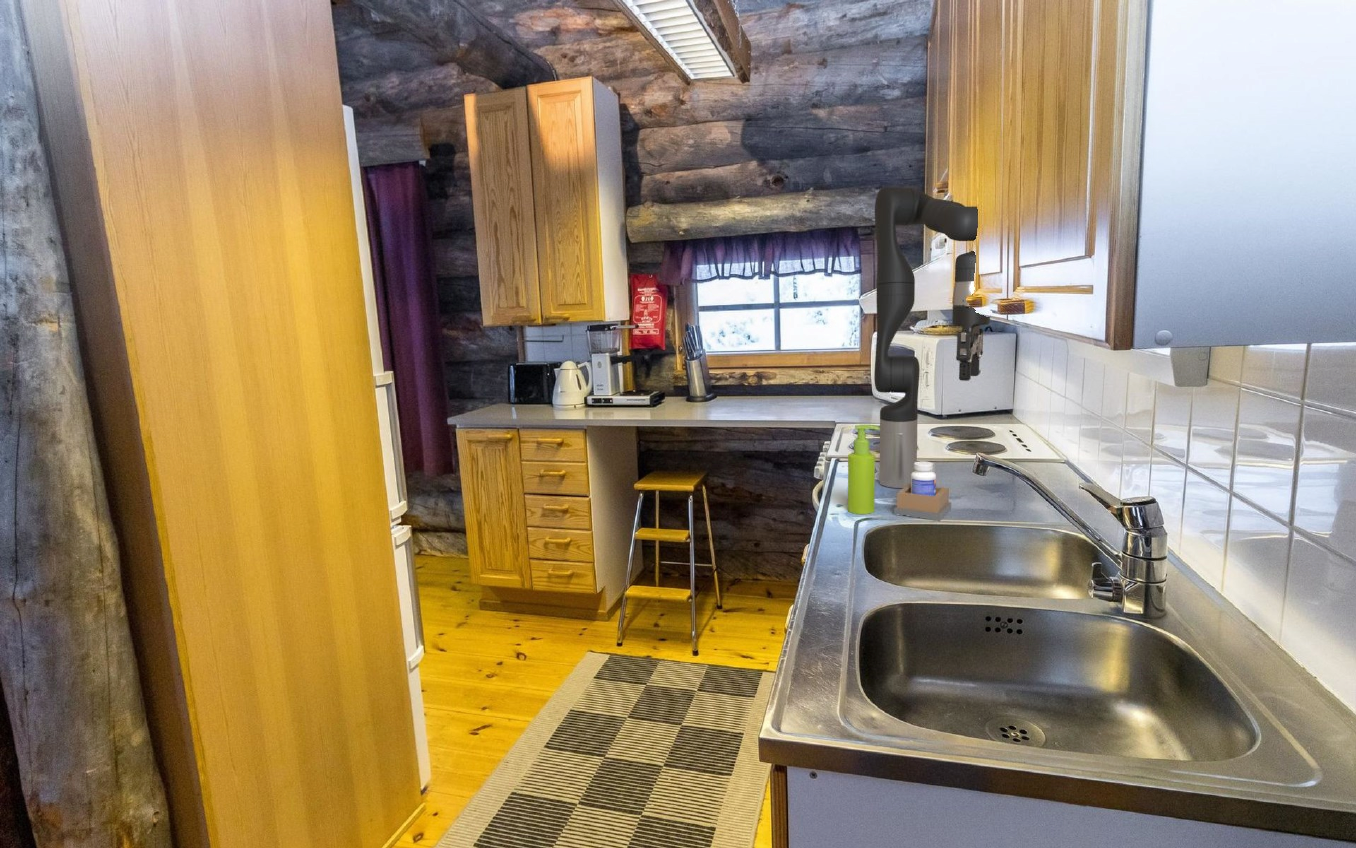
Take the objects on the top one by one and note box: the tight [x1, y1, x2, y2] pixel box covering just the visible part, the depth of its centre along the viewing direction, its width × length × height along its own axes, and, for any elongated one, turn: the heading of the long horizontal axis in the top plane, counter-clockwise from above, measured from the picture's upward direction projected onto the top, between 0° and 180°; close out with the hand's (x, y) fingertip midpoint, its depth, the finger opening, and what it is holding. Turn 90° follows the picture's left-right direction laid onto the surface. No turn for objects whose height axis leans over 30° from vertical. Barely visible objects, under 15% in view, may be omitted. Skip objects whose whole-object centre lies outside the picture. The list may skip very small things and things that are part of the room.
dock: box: [893, 484, 952, 521], centre depth 158 cm, size 10×10×5 cm
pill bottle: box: [911, 460, 937, 496], centre depth 157 cm, size 5×5×10 cm
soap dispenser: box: [847, 424, 880, 515], centre depth 159 cm, size 6×7×20 cm
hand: (969, 378), depth 152 cm, fingers open, 8 cm apart
